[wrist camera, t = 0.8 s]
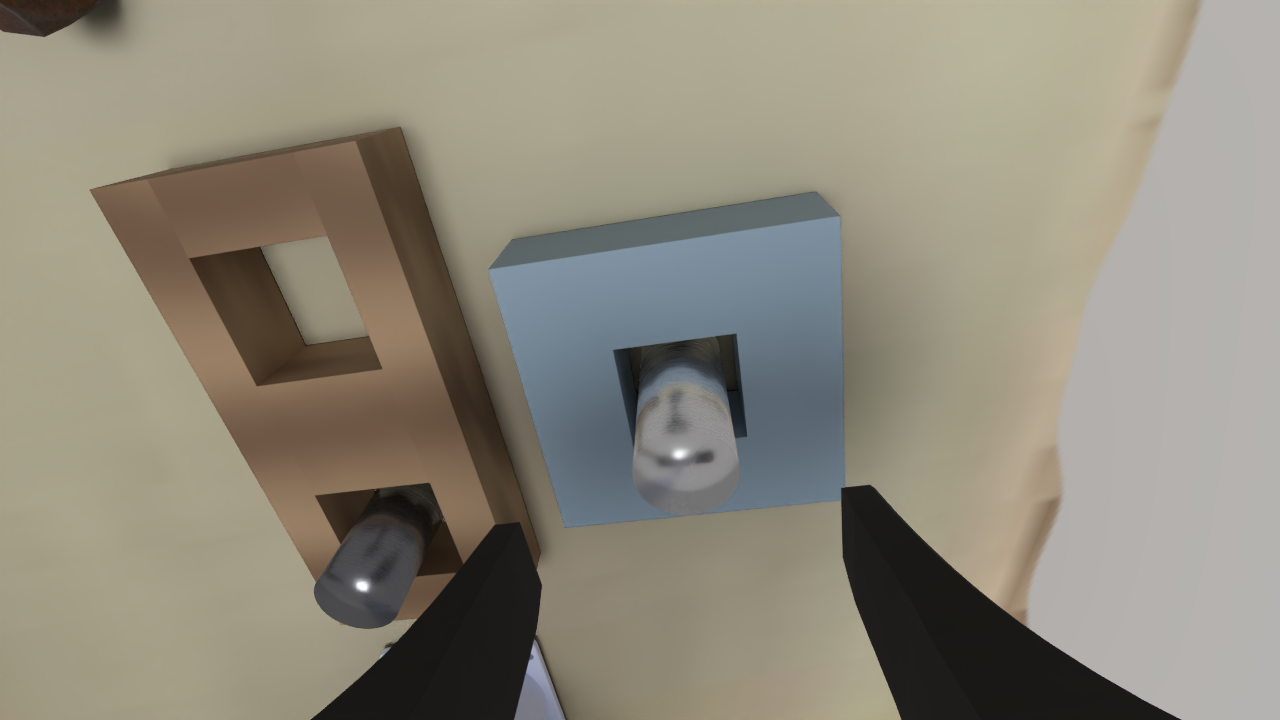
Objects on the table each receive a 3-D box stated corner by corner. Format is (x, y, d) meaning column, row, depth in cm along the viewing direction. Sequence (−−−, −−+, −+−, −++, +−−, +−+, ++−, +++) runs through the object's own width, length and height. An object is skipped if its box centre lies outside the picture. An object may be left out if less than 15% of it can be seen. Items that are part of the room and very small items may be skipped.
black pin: (464, 505, 26) (411, 625, 20) (402, 511, 26) (334, 631, 21) (443, 452, 24) (381, 565, 19) (378, 459, 25) (300, 573, 19)
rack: (540, 553, 27) (526, 609, 24) (372, 569, 28) (340, 624, 25) (399, 127, 19) (355, 141, 16) (167, 169, 20) (89, 189, 17)
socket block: (825, 448, 24) (845, 499, 21) (575, 475, 25) (564, 527, 22) (816, 191, 19) (840, 215, 16) (512, 239, 20) (488, 269, 18)
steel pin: (723, 380, 22) (744, 509, 16) (648, 389, 23) (641, 519, 16) (714, 311, 21) (734, 422, 15) (636, 322, 21) (623, 435, 15)
